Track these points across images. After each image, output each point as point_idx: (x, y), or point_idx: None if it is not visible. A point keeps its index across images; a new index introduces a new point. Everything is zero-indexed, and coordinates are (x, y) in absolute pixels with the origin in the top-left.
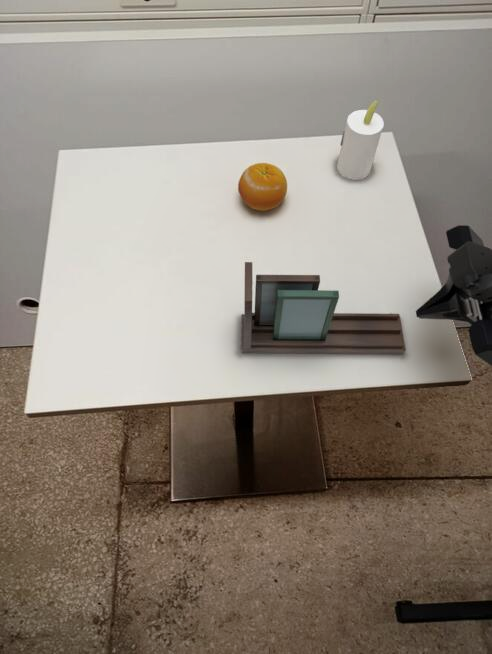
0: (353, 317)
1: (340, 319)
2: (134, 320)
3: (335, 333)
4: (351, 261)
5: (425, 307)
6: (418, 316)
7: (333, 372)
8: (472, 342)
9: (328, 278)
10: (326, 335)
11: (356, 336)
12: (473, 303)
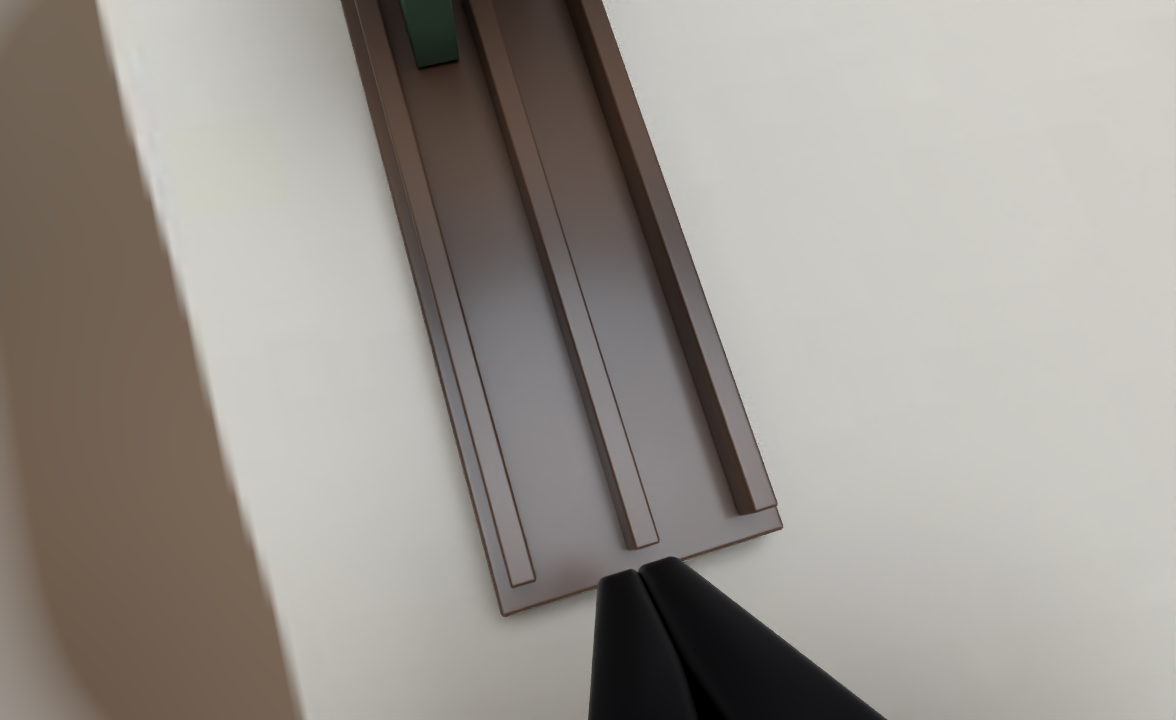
0: (639, 193)
1: (610, 133)
2: None
3: (496, 122)
4: (1083, 168)
5: (709, 669)
6: (599, 606)
7: (255, 193)
8: None
9: (903, 61)
10: (404, 9)
11: (513, 254)
12: None
